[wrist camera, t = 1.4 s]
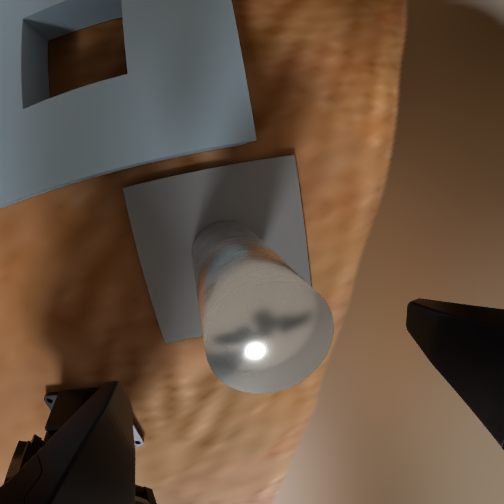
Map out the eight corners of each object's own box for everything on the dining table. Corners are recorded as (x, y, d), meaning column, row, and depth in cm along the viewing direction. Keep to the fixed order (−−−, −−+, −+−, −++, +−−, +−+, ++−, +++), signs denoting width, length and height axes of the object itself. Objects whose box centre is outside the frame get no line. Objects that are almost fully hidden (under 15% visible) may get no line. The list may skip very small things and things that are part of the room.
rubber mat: (310, 305, 21) (313, 307, 21) (165, 340, 20) (165, 343, 19) (292, 154, 18) (294, 154, 18) (123, 187, 17) (122, 187, 16)
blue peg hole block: (240, 145, 18) (256, 140, 14) (-3, 209, 15) (-37, 221, 11) (207, -44, 13) (215, -79, 10) (-13, 23, 11) (-39, 5, 7)
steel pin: (263, 277, 20) (335, 373, 10) (199, 292, 19) (221, 406, 10) (253, 213, 18) (329, 266, 9) (184, 227, 18) (190, 299, 8)
